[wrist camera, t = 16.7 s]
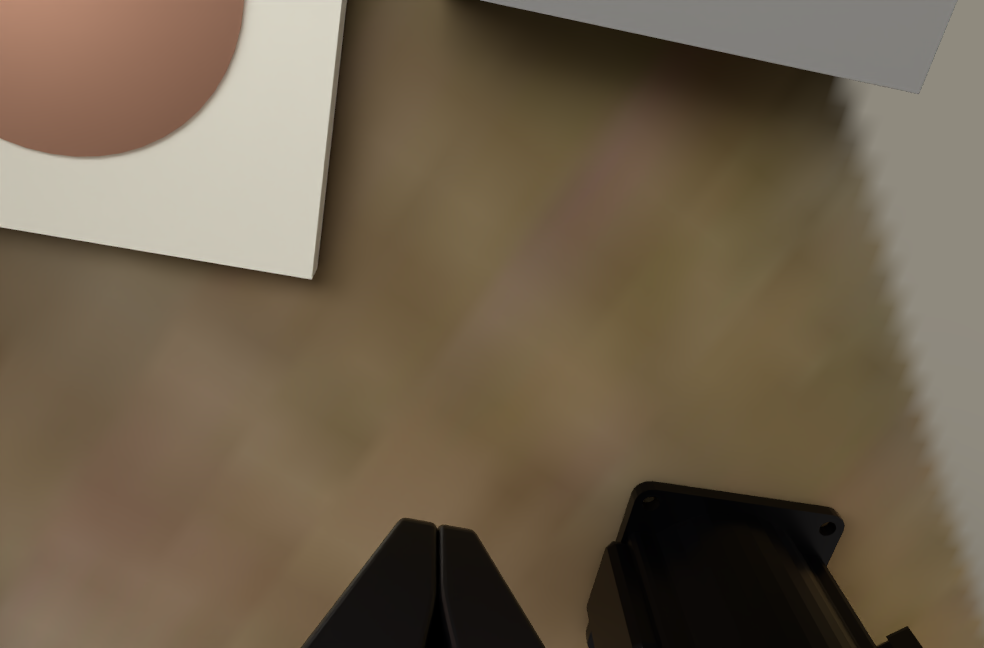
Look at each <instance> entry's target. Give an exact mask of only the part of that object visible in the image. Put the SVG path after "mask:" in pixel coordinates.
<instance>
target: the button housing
mask: <svg viewBox="0 0 984 648" xmlns="http://www.w3.org/2000/svg"><path fill="white" fill-rule="evenodd" d="M482 1H486V2H491V3H496V4H500V5H505V6H510V7H514V8H519V9H524V10H528V11H533V12H538V13H542V14H547V15H552V16H556V17H561V18H566V19H570V20H575V21H580V22H584V23H589V24H594V25H598V26H603V27H608V28H612V29H617V30H622V31H626V32H631V33H636V34H640V35H645V36H650V37H654V38H659V39H664V40H668V41H673V42H678V43H682V44H687V45H692V46H696V47H701V48H706V49H710V50H715V51H720V52H724V53H729V54H734V55H738V56H743V57H748V58H752V59H757V60H762V61H766V62H771V63H776V64H780V65H785V66H790V67H794V68H799V69H804V70H808V71H813V72H818V73H822V74H827V75H832V76H836V77H841V78H846V79H850V80H855V81H860V82H864V83H869V84H874V85H878V86H883V87H888V88H893V89H897V90H902V91H906V92H911V93H916V94H919V93H920V90H921V88H922V85H923V83H924V81H925V78H926V76H927V73H928V71H929V69H930V66H931V64H932V61H933V59H934V56H935V54H936V51H937V49H938V47H939V44H940V42H941V39H942V37H943V34H944V32H945V29H946V27H947V24H948V22H949V20H950V17H951V15H952V12H953V10H954V8H955V5H956V3H957V0H482Z"/></svg>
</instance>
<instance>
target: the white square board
mask: <svg viewBox="0 0 984 648" xmlns="http://www.w3.org/2000/svg"><path fill="white" fill-rule="evenodd" d="M346 5H347V0H0V227H2V228H8V229H14V230H20V231H26V232H32V233H38V234H44V235H50V236H56V237H62V238H68V239H74V240H80V241H86V242H91V243H97V244H103V245H109V246H115V247H121V248H127V249H133V250H139V251H145V252H151V253H157V254H163V255H169V256H175V257H181V258H187V259H193V260H199V261H204V262H210V263H216V264H222V265H228V266H234V267H240V268H246V269H252V270H258V271H264V272H270V273H276V274H282V275H288V276H294V277H300V278H306V279H311V280H312V278H313V276H314V274H315V272H316V270H317V267H318V258H319V249H320V240H321V231H322V222H323V213H324V204H325V195H326V186H327V177H328V168H329V159H330V150H331V141H332V132H333V123H334V114H335V105H336V96H337V87H338V77H339V68H340V59H341V50H342V41H343V32H344V23H345V14H346Z"/></svg>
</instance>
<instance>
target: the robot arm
mask: <svg viewBox="0 0 984 648" xmlns="http://www.w3.org/2000/svg"><path fill="white" fill-rule="evenodd" d="M653 496H654V497H656V498H655V499H654V500H653V501H651V502H643V501H644V499H646V498H648V497H653ZM826 522H829V523H828V524H827V525H825V526H824V527H821V525H822V524H824V523H826ZM843 530H844V522H843V520H842V519H841V517H840V516H839V514H838V513H837V512H836V511H835V510H834V509H832V508H829V507H825V506H818V505H811V504H804V503H797V502H790V501H783V500H777V499H770V498H763V497H756V496H749V495H742V494H736V493H729V492H722V491H715V490H708V489H701V488H694V487H688V486H681V485H674V484H667V483H660V482H653V481H648V482H643V483H641V484H639V485H638V486H636V487H635V488H634V490H633V491H632V493H631V496H630V499H629V502H628V505H627V508H626V511H625V514H624V518H623V521H622V524H621V527H620V530H619V533H618V536H617V539H616V542H615V541H613V542H611V543H610V544H609V545H608V546H607V547H606V548H605V551H604V554H603V558H602V561H601V564H600V567H599V570H598V573H597V576H596V579H595V582H594V585H593V588H592V591H591V594H590V598H589V601H588V604H587V612H588V617H589V623H588V627H587V630H586V639H587V644H588V647H589V648H923V647H922V646H921V645H920V643H919V642H918V640H917V639H916V638H915V636H914V635H913V633H912V632H911V630H910V629H909V628H908V626H906V627H904V628H902V629H900V630H898V631H896V632H894V633H892V634H890V635H888V636H886V637H887V639H888V641H886V642H884V643H882V644H880V645H878V646H876V645H875V644H874V642H873V640H872V639H871V637H870V636H869V634H868V632H867V631H866V629H865V628H864V626H863V624H862V623H861V621H860V620H859V618H858V616H857V615H856V613H855V612H854V610H853V608H852V607H851V605H850V604H849V602H848V600H847V599H846V597H845V596H844V594H843V592H842V591H841V589H840V588H839V586H838V584H837V583H836V581H835V580H834V578H833V576H832V575H831V573H830V571H829V570H828V568H827V567H826V566H827V564H828V562H829V560H830V558H831V556H832V554H833V552H834V549H835V547H836V545H837V543H838V541H839V539H840V537H841V535H842V533H843ZM301 648H545V646H544V645H543V643H542V641H541V640H540V638H539V636H538V635H537V633H536V631H535V630H534V628H533V626H532V625H531V623H530V621H529V620H528V618H527V617H526V615H525V613H524V612H523V610H522V608H521V607H520V605H519V603H518V602H517V600H516V598H515V597H514V595H513V593H512V592H511V590H510V589H509V587H508V585H507V584H506V582H505V580H504V579H503V577H502V575H501V574H500V572H499V570H498V569H497V567H496V565H495V564H494V562H493V561H492V559H491V557H490V556H489V554H488V552H487V551H486V549H485V547H484V546H483V544H482V542H481V541H480V539H479V537H478V536H477V534H476V533H475V532H474V531H473V530H470V529H466V528H460V527H455V526H449V525H441V526H439V527H438V528H436V526H435V524H434V523H432V522H427V521H421V520H416V519H410V518H402V519H400V520H399V521H398V522H397V524H396V525H395V526H394V527H393V529H392V530H391V531H390V533H389V534H388V535H387V537H386V538H385V539H384V540H383V542H382V543H381V544H380V546H379V547H378V548H377V549H376V551H375V552H374V553H373V555H372V556H371V557H370V559H369V560H368V561H367V562H366V564H365V565H364V566H363V568H362V569H361V570H360V572H359V573H358V574H357V575H356V577H355V578H354V579H353V581H352V582H351V583H350V584H349V586H348V587H347V588H346V590H345V591H344V592H343V594H342V595H341V596H340V597H339V599H338V600H337V601H336V603H335V604H334V605H333V607H332V608H331V609H330V610H329V612H328V613H327V614H326V616H325V617H324V618H323V620H322V621H321V622H320V623H319V625H318V626H317V627H316V629H315V630H314V631H313V632H312V634H311V635H310V636H309V638H308V639H307V640H306V642H305V643H304V644H303V645H302V647H301Z"/></svg>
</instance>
